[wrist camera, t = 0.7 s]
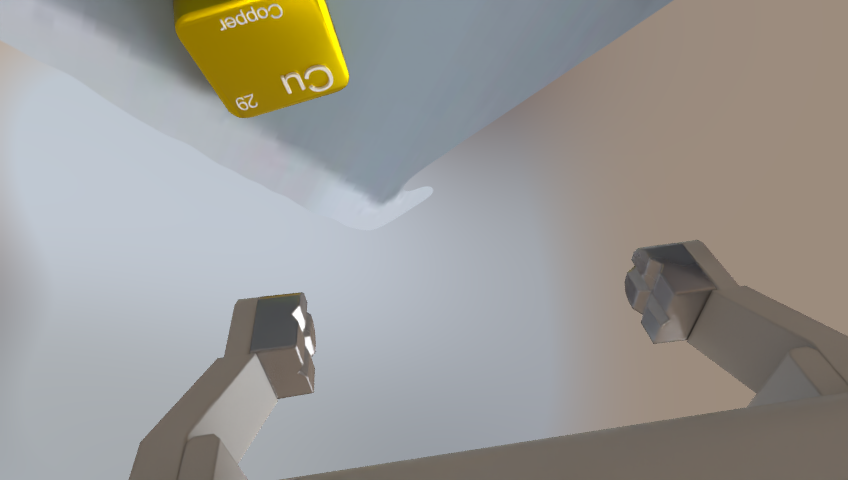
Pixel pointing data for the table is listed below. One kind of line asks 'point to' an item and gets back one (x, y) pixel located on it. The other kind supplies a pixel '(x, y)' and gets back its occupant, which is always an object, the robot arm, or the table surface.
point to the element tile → (263, 51)
